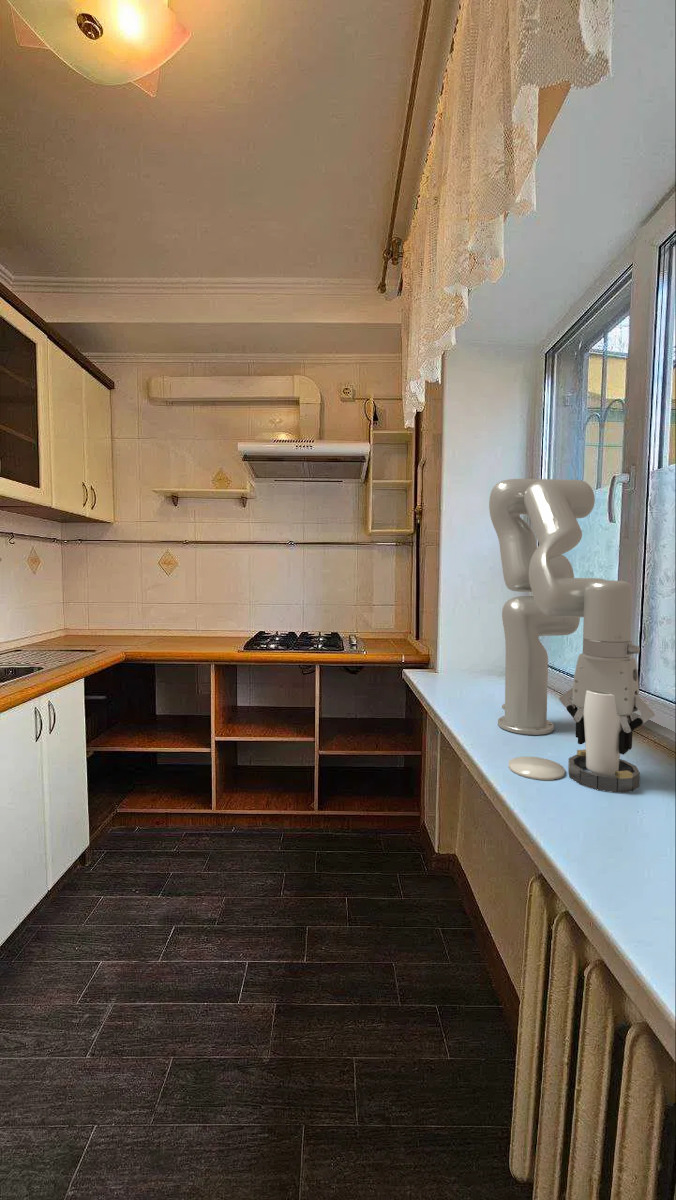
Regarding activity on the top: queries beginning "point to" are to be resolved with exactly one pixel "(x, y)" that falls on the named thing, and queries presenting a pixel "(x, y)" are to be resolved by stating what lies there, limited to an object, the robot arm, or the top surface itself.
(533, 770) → the disc
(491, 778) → the top surface
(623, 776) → the collar
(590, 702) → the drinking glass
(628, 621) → the robot arm
